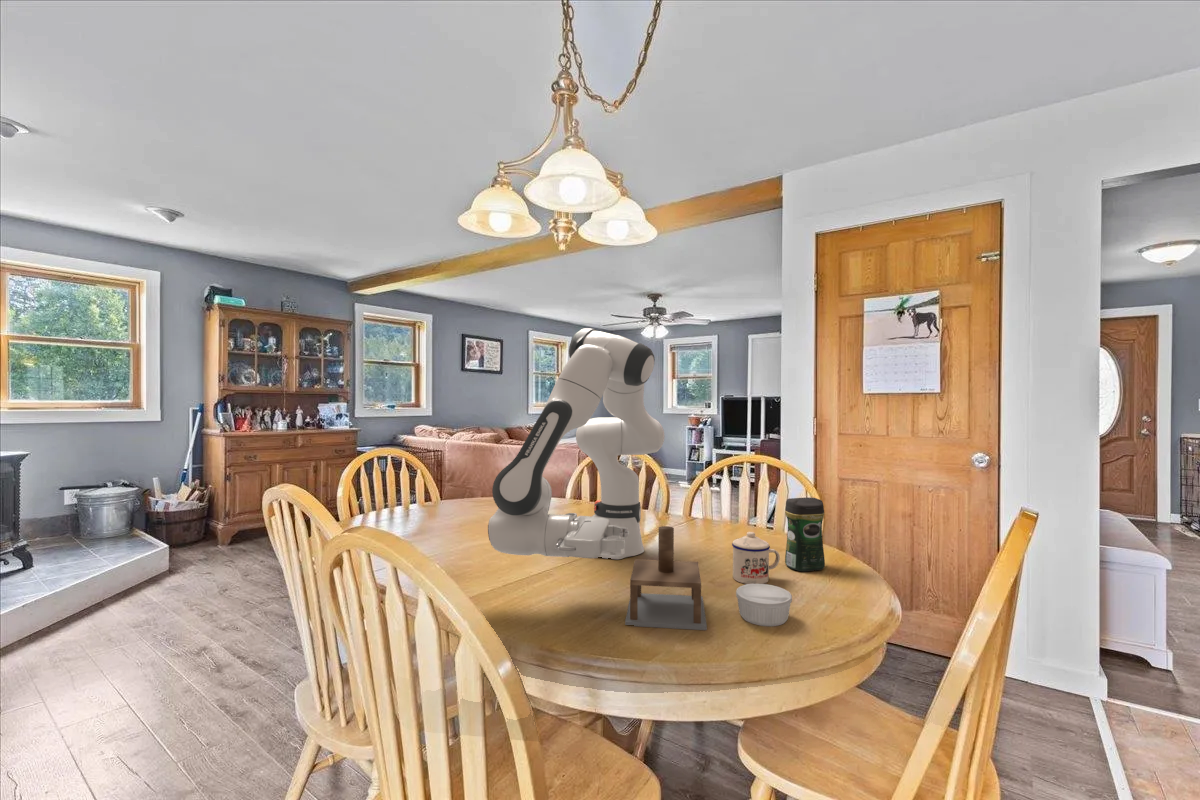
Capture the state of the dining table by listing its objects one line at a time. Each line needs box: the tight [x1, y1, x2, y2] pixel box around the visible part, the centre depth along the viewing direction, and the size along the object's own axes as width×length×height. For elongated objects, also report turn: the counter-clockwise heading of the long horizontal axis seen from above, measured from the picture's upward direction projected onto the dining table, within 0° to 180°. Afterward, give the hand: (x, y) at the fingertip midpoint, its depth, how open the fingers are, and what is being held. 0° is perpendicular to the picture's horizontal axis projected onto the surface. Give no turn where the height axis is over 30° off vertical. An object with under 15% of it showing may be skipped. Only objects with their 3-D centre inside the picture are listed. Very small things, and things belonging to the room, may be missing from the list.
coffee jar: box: [784, 497, 826, 572], centre depth 148 cm, size 10×8×19 cm
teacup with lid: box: [731, 531, 781, 585], centre depth 139 cm, size 12×9×12 cm
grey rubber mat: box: [624, 592, 708, 631], centre depth 118 cm, size 16×16×1 cm
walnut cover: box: [629, 525, 702, 624], centre depth 118 cm, size 14×14×17 cm
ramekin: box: [735, 583, 793, 627], centre depth 115 cm, size 11×11×5 cm
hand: (626, 537), depth 119 cm, fingers open, 8 cm apart
